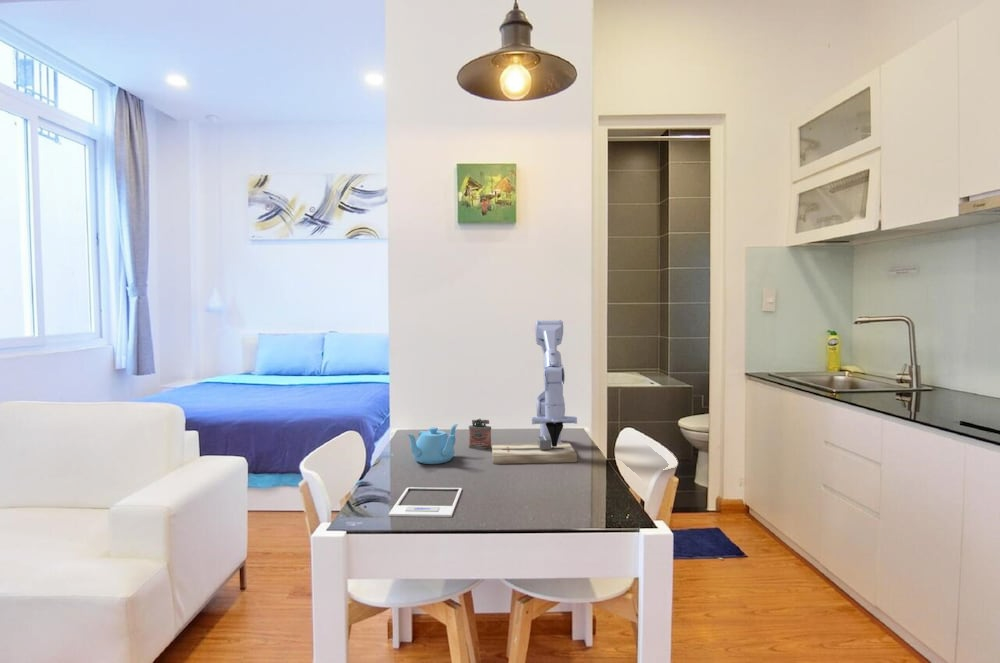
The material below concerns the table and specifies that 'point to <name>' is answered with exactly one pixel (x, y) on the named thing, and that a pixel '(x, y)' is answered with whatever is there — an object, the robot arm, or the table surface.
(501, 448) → the console board
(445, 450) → the teapot
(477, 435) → the lighter
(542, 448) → the fader
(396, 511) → the photo frame
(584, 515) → the table surface
